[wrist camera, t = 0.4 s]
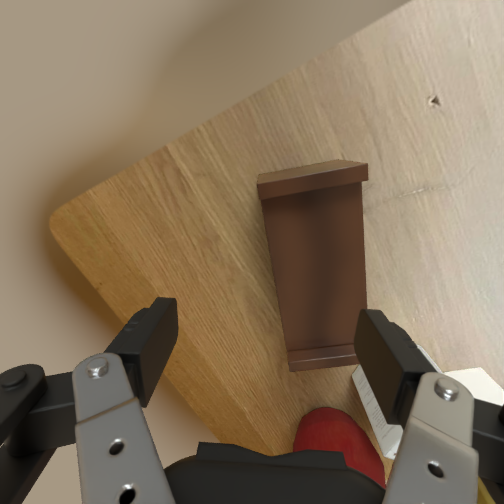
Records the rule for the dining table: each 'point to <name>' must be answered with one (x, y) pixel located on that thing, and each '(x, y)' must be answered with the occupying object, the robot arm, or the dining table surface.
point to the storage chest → (317, 258)
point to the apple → (340, 440)
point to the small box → (384, 433)
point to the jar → (479, 385)
